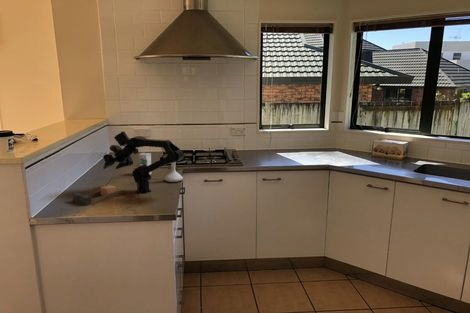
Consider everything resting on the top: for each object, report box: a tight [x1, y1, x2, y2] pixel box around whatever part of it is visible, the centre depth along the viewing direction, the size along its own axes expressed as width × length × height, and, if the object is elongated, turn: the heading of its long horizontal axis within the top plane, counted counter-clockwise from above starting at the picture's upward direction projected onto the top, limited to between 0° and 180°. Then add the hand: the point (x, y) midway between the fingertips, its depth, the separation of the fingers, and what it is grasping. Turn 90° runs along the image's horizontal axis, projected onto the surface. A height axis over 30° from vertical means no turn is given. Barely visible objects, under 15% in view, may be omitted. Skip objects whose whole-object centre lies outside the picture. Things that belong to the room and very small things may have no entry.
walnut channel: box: [72, 189, 125, 206], centre depth 190 cm, size 11×24×4 cm, turn 147°
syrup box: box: [138, 152, 152, 175], centre depth 238 cm, size 6×6×14 cm
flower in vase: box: [160, 147, 183, 183], centre depth 222 cm, size 13×11×25 cm
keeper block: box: [100, 184, 118, 196], centre depth 195 cm, size 6×6×4 cm
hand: (110, 168), depth 206 cm, fingers open, 9 cm apart
